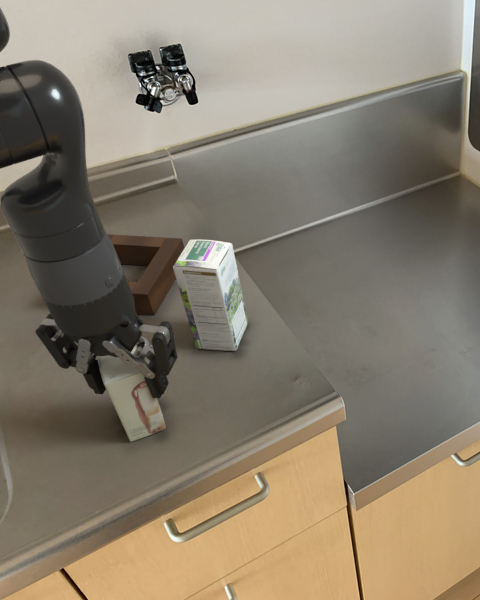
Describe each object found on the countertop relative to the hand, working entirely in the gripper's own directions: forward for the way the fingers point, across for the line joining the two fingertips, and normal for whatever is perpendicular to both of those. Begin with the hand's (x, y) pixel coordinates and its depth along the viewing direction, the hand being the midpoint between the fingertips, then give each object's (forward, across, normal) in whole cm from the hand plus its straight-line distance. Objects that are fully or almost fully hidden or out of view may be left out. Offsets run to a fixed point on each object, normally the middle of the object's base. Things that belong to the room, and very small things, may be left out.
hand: (131, 390), depth 70 cm
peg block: (+6, +13, -25) cm, 29 cm away
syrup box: (+6, -5, -15) cm, 17 cm away
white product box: (+6, 0, 0) cm, 6 cm away
